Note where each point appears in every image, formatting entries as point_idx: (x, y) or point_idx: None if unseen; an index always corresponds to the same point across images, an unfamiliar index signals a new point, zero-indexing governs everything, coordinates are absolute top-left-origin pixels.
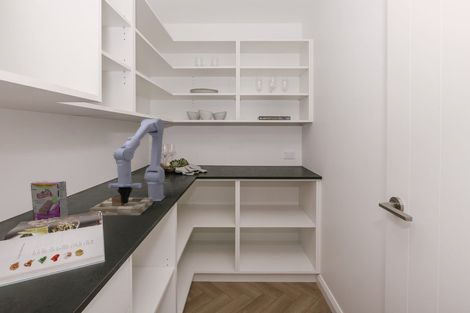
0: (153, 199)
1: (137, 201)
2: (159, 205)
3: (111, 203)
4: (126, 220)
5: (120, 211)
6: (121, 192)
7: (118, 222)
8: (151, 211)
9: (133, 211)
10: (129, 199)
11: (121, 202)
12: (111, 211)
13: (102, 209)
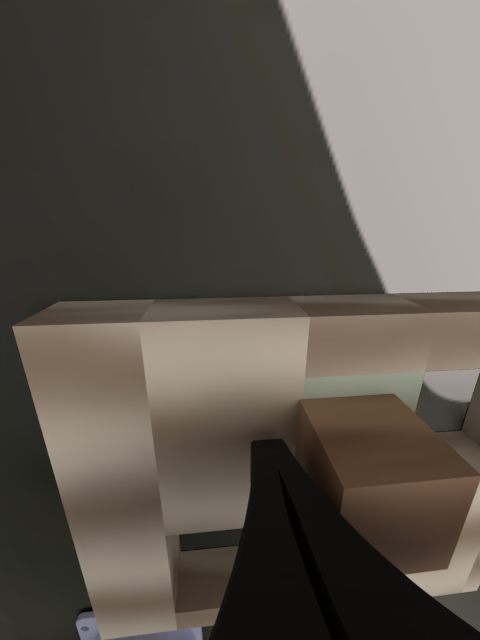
0: None
1: None
2: (29, 537)
3: None
4: (114, 128)
5: (264, 308)
6: (372, 607)
7: (174, 58)
8: (3, 401)
9: (115, 311)
10: None
11: (311, 442)
12: (359, 306)
13: (466, 310)
